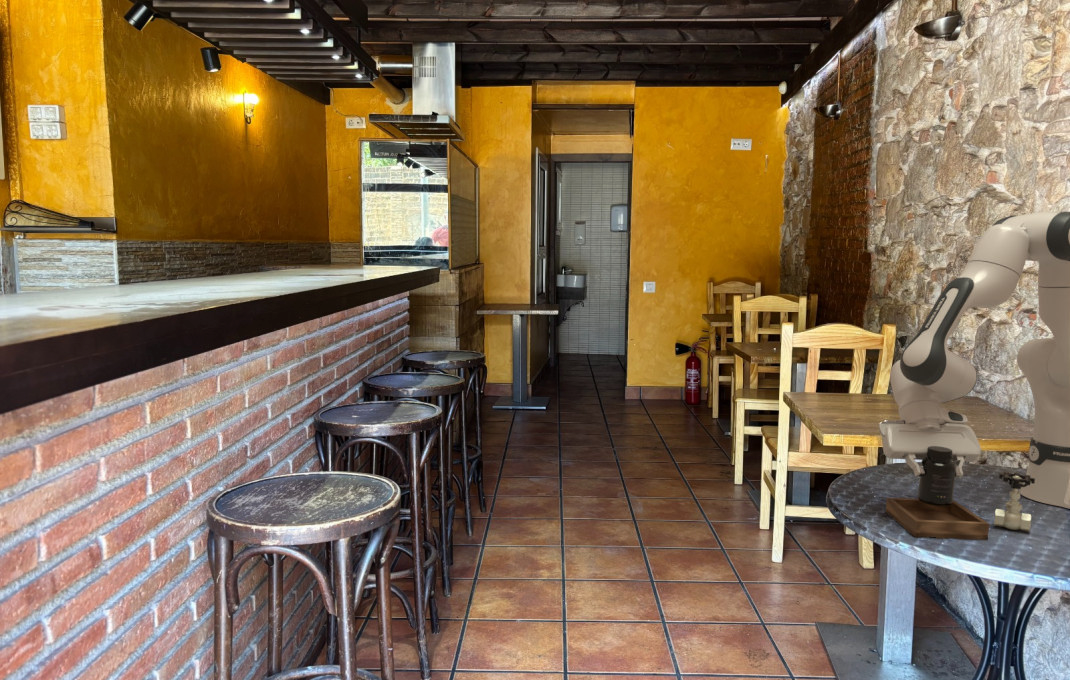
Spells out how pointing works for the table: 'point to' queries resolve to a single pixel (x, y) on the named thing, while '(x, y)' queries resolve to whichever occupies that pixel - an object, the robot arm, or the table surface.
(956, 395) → the robot arm
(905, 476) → the table surface
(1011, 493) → the valve
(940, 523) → the walnut tray
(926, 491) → the supplement bottle
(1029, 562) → the table surface
